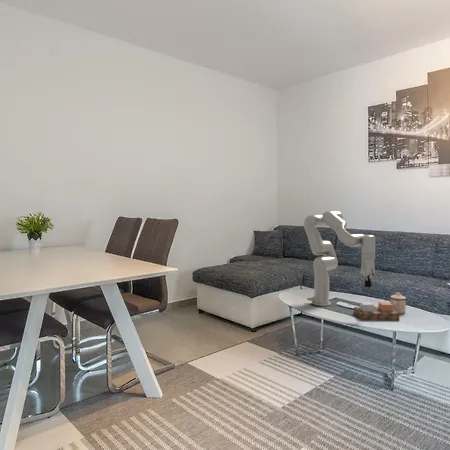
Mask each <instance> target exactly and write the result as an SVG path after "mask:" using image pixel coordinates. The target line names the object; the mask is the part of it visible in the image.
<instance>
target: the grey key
mask: <svg viewBox="0 0 450 450" xmlns="http://www.w3.org/2000/svg"><path fill="white" fill-rule="evenodd" d="M359 307H360V310H361V311H363V312H374V307H375V304H374V303H372V302H370V301H361V302H359Z"/></svg>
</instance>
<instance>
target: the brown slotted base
mask: <svg viewBox="0 0 450 450" xmlns="http://www.w3.org/2000/svg"><path fill="white" fill-rule="evenodd" d="M400 314H401V313H398V312H397V311H395V310H394V309H393V312H381V311H380V310H379V309H378V306H374V312H363V311H361V310H360V306H353V315H355V316H356V317H357V318H358V319H359V320H360V321H400Z"/></svg>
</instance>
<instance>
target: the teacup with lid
mask: <svg viewBox="0 0 450 450" xmlns="http://www.w3.org/2000/svg"><path fill="white" fill-rule="evenodd" d="M389 298H390V302H389V303H391V304H392V305H393V309H394V310H395V311H397V312H398V313H400V314H404V313H406V304H407V302H406V301H407V297H406V296H404V295H402V294H401V292H396V293H395V294H392V295H391V296H390V297H389Z"/></svg>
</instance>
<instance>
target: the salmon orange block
mask: <svg viewBox="0 0 450 450" xmlns="http://www.w3.org/2000/svg"><path fill="white" fill-rule="evenodd" d="M377 305H378V306H377V307H378V309H379V310H380V311H381V312H393V305H392V304H391V303H390V302H389V301H387V302H386V301H378V304H377Z"/></svg>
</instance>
